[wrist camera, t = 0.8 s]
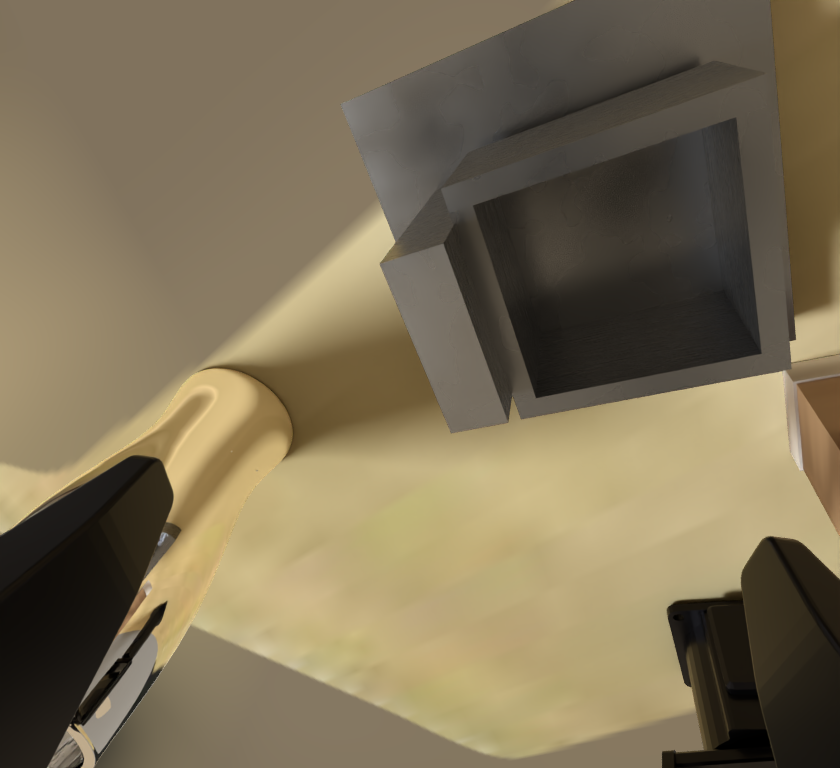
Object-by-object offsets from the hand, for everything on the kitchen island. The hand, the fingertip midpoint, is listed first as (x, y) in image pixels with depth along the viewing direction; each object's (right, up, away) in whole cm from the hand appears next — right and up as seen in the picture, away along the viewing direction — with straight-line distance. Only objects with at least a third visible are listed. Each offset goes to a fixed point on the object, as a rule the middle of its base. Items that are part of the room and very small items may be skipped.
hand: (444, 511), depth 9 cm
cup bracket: (+5, +8, +11) cm, 15 cm away
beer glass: (-10, 0, +20) cm, 22 cm away
